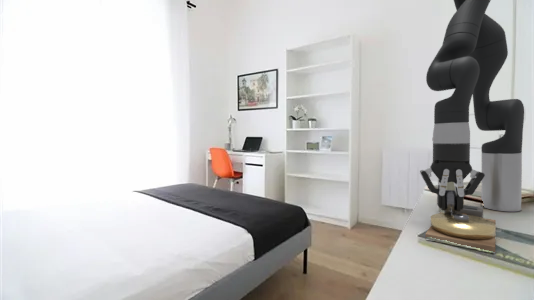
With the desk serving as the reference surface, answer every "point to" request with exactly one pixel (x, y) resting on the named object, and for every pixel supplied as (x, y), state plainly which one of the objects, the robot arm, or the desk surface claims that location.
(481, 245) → the tan piece
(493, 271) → the desk surface
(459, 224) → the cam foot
